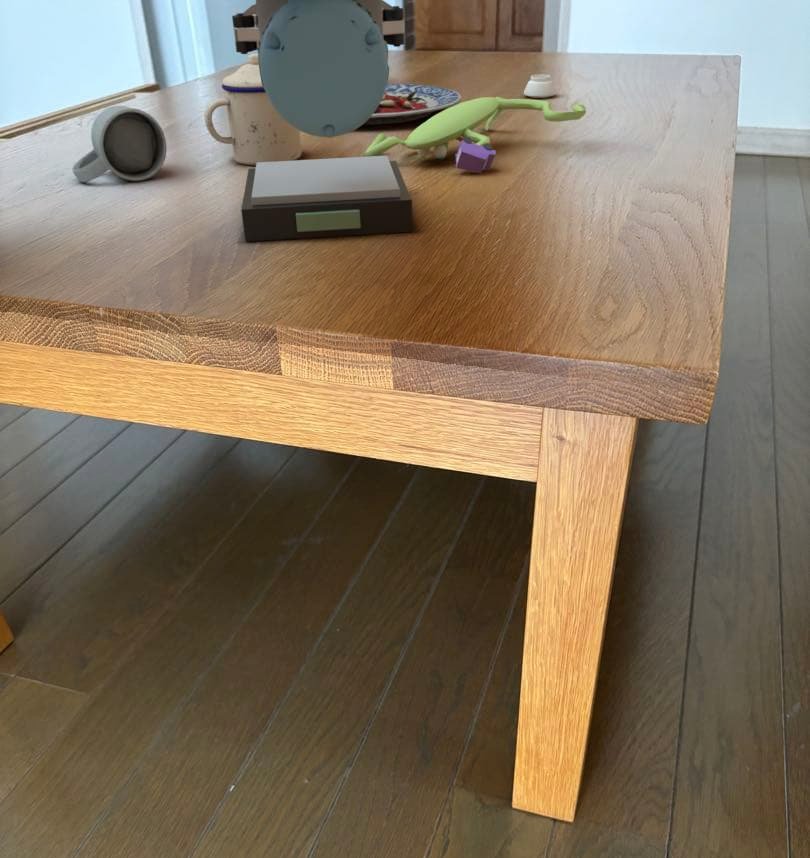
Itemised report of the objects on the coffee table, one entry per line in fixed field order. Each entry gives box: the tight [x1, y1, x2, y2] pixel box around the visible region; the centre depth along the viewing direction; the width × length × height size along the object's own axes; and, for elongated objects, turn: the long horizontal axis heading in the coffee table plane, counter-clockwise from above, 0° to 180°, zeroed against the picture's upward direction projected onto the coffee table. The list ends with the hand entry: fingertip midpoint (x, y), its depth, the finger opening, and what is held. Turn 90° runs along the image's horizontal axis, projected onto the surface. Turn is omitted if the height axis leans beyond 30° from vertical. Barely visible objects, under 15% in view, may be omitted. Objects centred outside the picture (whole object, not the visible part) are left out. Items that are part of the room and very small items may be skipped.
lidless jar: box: [523, 73, 557, 99], centre depth 141 cm, size 5×3×5 cm
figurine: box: [364, 96, 587, 174], centre depth 109 cm, size 18×27×6 cm
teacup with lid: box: [203, 52, 303, 166], centre depth 108 cm, size 12×9×12 cm
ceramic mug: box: [71, 105, 168, 183], centre depth 104 cm, size 11×8×8 cm
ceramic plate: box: [362, 83, 462, 126], centre depth 133 cm, size 26×26×3 cm
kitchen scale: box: [240, 155, 414, 243], centre depth 89 cm, size 16×17×4 cm
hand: (317, 10), depth 82 cm, fingers closed on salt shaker, 4 cm apart
